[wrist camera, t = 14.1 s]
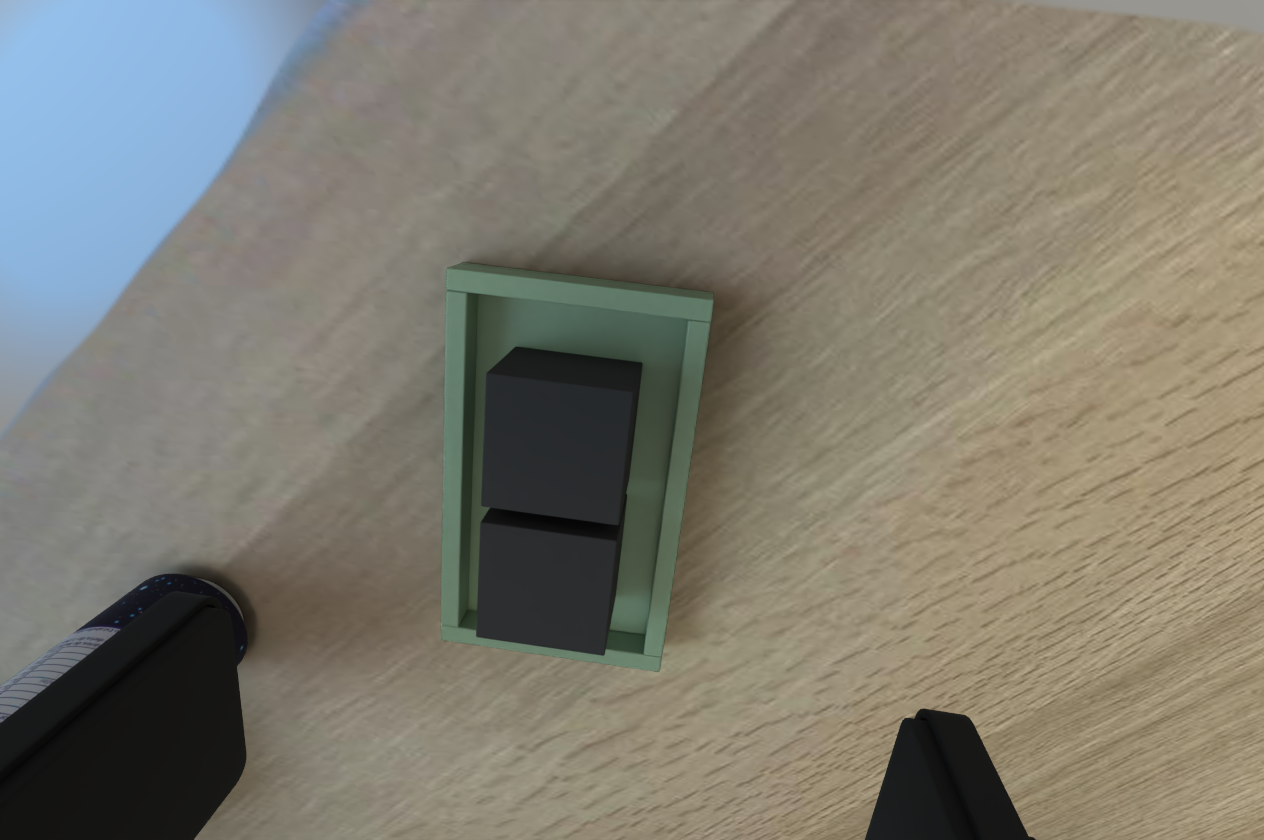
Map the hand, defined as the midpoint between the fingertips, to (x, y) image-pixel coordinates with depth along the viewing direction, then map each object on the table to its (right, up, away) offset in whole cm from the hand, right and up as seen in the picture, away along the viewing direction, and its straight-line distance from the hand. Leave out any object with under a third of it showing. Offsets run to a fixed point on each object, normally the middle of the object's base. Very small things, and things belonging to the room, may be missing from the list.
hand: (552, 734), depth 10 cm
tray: (-1, +2, +19) cm, 19 cm away
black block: (-2, -1, +20) cm, 20 cm away
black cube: (-1, +5, +18) cm, 19 cm away
